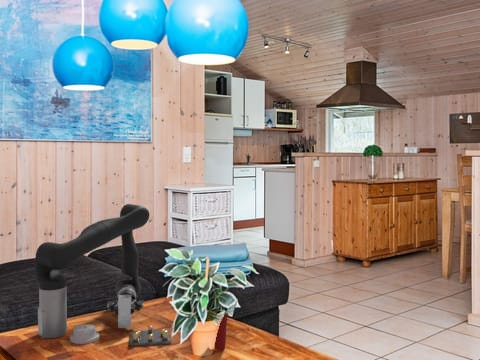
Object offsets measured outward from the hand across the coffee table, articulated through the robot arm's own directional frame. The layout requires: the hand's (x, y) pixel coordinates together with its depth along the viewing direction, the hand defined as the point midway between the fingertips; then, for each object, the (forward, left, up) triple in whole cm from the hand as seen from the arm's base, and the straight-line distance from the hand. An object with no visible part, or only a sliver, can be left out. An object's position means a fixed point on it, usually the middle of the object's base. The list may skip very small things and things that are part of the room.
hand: (124, 311), depth 183 cm
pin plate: (+5, -10, -8) cm, 14 cm away
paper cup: (+20, -30, -8) cm, 38 cm away
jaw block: (+1, +2, -6) cm, 7 cm away
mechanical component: (-14, +3, -8) cm, 16 cm away
